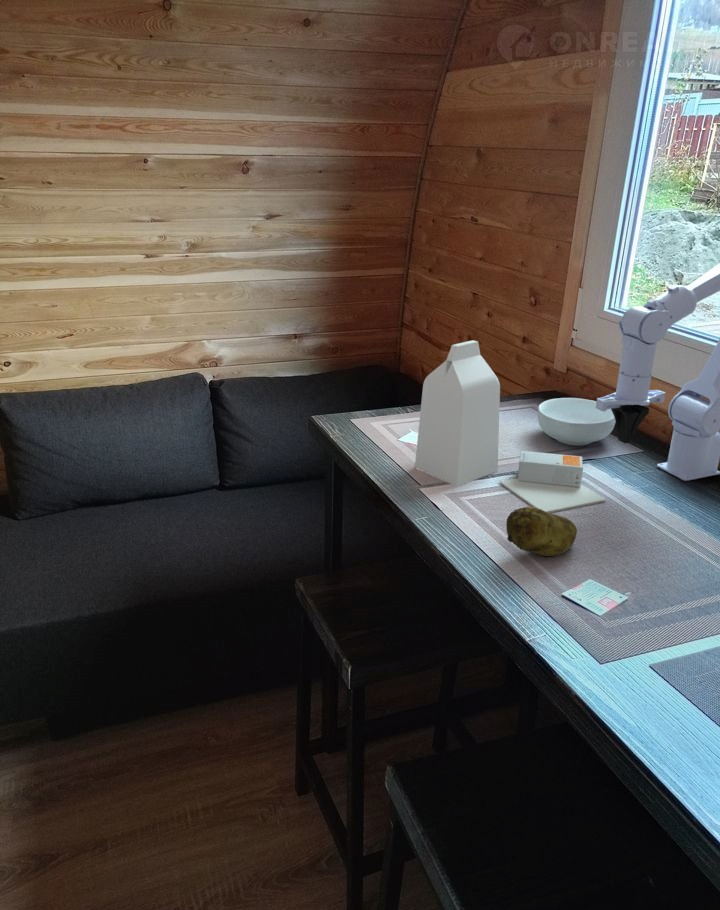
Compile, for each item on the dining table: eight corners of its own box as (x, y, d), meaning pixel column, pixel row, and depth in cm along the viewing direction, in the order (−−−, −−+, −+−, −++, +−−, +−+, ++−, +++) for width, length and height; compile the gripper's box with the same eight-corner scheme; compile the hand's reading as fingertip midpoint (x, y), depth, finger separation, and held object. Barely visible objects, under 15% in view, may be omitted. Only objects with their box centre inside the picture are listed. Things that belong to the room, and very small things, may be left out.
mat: (558, 472, 155) (559, 470, 155) (605, 501, 143) (605, 499, 143) (499, 483, 150) (499, 481, 150) (543, 514, 138) (543, 512, 138)
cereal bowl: (553, 420, 183) (556, 392, 180) (622, 436, 174) (627, 407, 172) (522, 441, 170) (525, 411, 168) (595, 460, 162) (600, 428, 159)
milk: (457, 486, 148) (466, 355, 138) (414, 467, 156) (421, 342, 146) (497, 470, 155) (509, 344, 145) (454, 453, 163) (463, 332, 153)
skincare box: (583, 467, 146) (519, 461, 148) (581, 487, 148) (517, 481, 150) (582, 455, 151) (520, 450, 154) (579, 475, 153) (518, 469, 155)
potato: (588, 562, 123) (595, 517, 120) (511, 567, 121) (515, 521, 118) (568, 537, 130) (574, 494, 127) (494, 541, 129) (498, 498, 126)
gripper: (618, 383, 136) (607, 454, 142) (681, 374, 142) (669, 443, 147) (592, 372, 142) (583, 440, 148) (654, 364, 148) (643, 430, 153)
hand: (624, 441), depth 148 cm, fingers closed
